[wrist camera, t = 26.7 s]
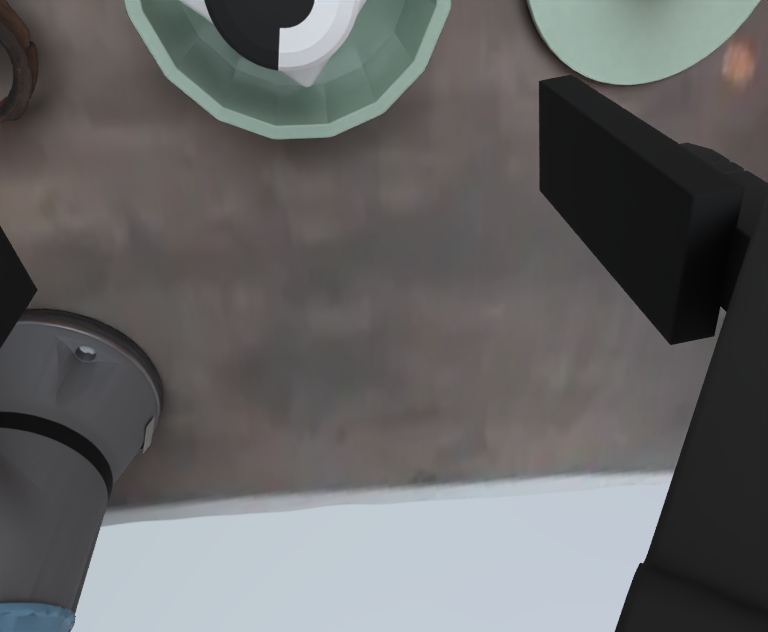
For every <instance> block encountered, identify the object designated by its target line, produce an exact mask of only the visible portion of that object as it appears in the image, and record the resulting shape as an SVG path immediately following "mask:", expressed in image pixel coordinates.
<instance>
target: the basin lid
mask: <svg viewBox="0 0 768 632" xmlns="http://www.w3.org/2000/svg"><path fill="white" fill-rule="evenodd" d="M526 1H527V4H528V8H529V11H530V14H531V17H532V20H533V22H534V24H535V26H536V28H537V31H538V33H539V35H540V36H541V38H542V39H543V41H544V42H545V44H546V45H547V47H548V48H549V49H550V50H551V51H552V52H553V53H554V55H555V56H556V57H557V58H558V59H559V60H561V61H562V62H563V63H564V64H566V65H567V66H568V67H569V68H571V69H572V70H574V71H576V72H578V73H579V74H581V75H583V76H585V77H587V78H590V79H593V80H596V81H598V82H603V83H608V84H614V85H635V84H644V83H649V82H653V81H657V80H661V79H664V78H666V77H669V76H672V75H674V74H677V73H679V72H681V71H683V70H685V69H687V68H689V67H691V66H693V65H694V64H696V63H697V62H699V61H700V60H702V59H703V58H705V57H707V56H708V55H709V54H710V53H712V52H713V51H714V50H715V49H717V48H718V47H719V46H721V45H722V44H723V43H724V42H725V41H726V40H727V39H728V38H729V37H730V36H731V35H732V34H733V33H734V32H735V31H736V30H737V29H738V28H739V27H740V26H741V25H742V23H743V22H744V21H745V20H746V19H747V18H748V17H749V15H750V14H751V13H752V11H753V10H754V9H755V7H756V6H757V4H758V3H759V2H760V0H526Z"/></svg>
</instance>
